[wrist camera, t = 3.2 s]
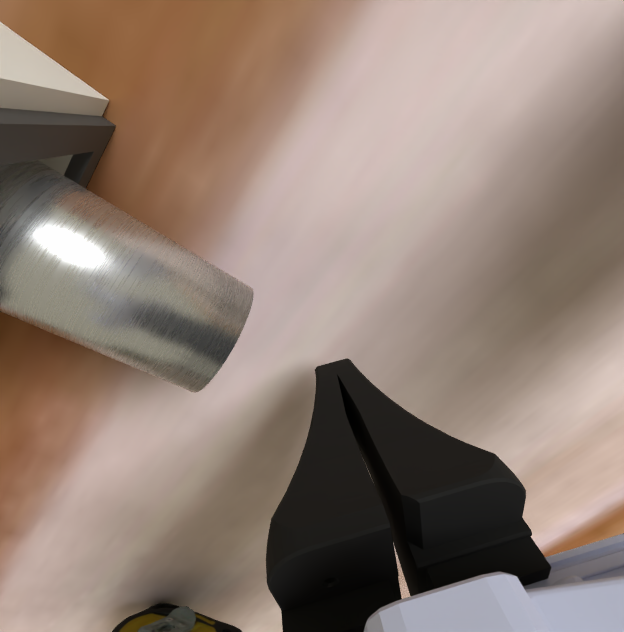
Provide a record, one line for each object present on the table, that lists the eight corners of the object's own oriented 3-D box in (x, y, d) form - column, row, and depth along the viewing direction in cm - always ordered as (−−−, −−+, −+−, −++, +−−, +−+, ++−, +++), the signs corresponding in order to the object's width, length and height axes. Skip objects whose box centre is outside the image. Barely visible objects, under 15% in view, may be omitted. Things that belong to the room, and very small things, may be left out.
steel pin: (252, 270, 12) (254, 323, 9) (198, 347, 13) (182, 417, 10) (-76, 66, 8) (-282, 27, 5) (-114, 197, 9) (-302, 232, 6)
